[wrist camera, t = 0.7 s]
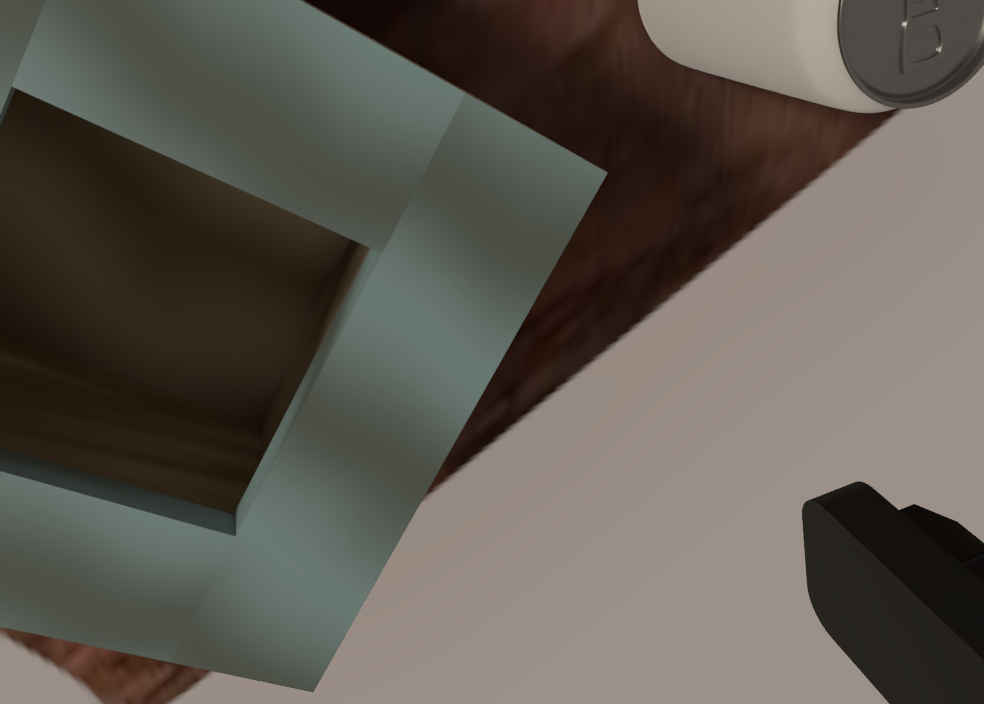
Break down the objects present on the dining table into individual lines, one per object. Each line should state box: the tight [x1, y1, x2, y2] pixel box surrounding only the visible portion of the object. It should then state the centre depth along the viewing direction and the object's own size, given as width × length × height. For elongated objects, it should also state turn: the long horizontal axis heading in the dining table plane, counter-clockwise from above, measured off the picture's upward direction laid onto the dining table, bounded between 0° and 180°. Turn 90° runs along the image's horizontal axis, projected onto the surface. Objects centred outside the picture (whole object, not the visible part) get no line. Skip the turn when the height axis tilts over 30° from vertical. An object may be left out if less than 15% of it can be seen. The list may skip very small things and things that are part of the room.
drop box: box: [0, 0, 607, 692], centre depth 27 cm, size 16×16×14 cm
